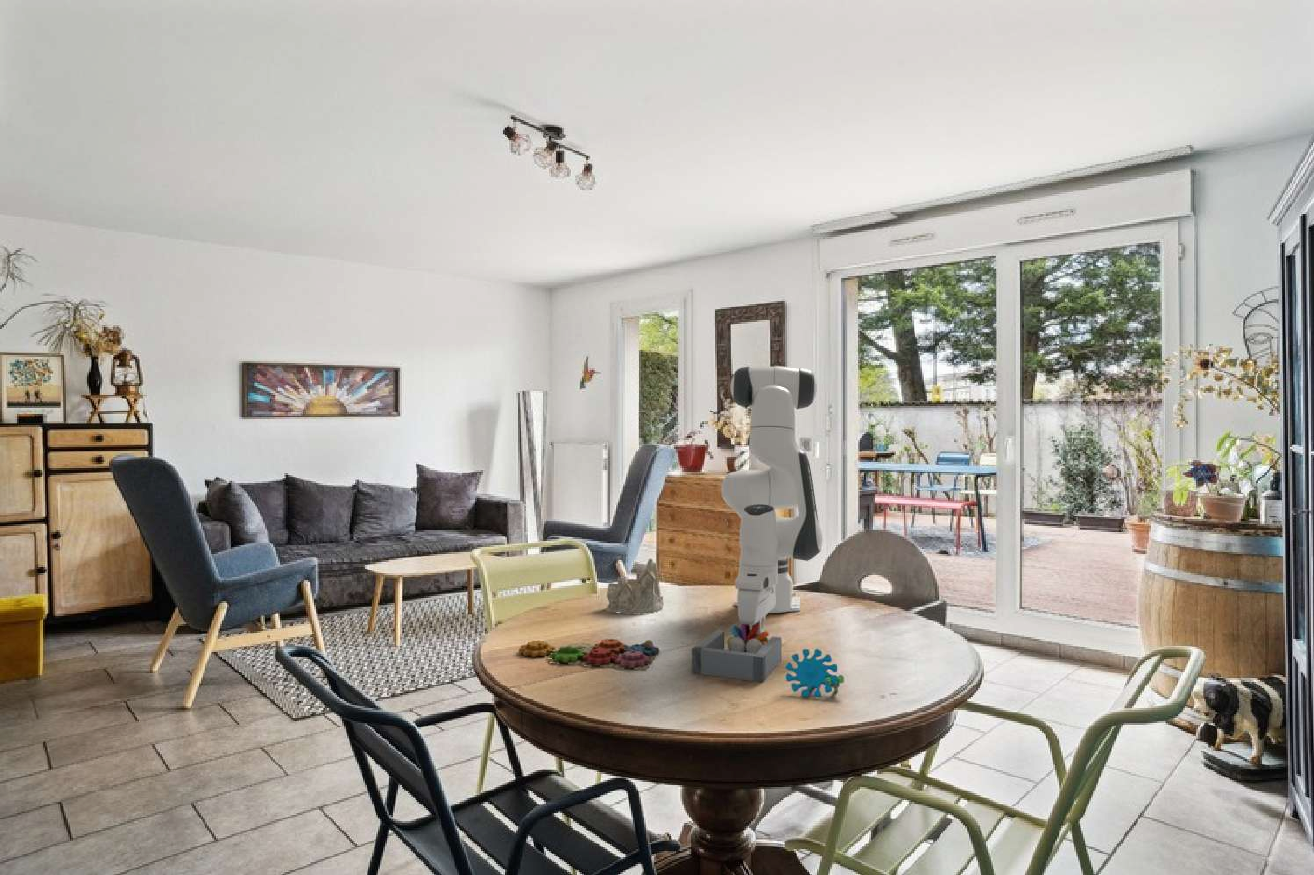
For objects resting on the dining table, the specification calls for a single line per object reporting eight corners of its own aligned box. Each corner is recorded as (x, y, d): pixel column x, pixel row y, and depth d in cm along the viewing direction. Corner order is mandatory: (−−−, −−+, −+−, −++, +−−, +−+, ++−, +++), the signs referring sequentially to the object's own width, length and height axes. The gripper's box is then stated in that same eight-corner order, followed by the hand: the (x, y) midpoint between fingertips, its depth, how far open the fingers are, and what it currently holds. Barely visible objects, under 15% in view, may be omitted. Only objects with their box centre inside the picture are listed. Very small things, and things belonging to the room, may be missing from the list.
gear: (777, 686, 146) (793, 640, 152) (781, 700, 150) (796, 655, 156) (835, 703, 141) (849, 655, 147) (837, 717, 145) (851, 671, 151)
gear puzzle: (507, 663, 167) (507, 644, 167) (535, 643, 182) (535, 626, 182) (646, 674, 160) (646, 654, 160) (663, 652, 175) (663, 634, 175)
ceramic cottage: (668, 602, 224) (665, 551, 224) (657, 617, 208) (653, 562, 208) (617, 602, 228) (613, 552, 227) (601, 618, 211) (598, 564, 211)
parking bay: (715, 652, 174) (715, 630, 174) (781, 660, 168) (781, 637, 168) (691, 672, 159) (691, 648, 159) (762, 682, 153) (762, 657, 153)
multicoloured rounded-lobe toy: (765, 660, 168) (765, 627, 168) (722, 655, 171) (722, 623, 171) (773, 650, 176) (773, 618, 176) (732, 645, 179) (732, 614, 179)
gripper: (756, 567, 189) (756, 623, 189) (732, 582, 170) (732, 644, 170) (782, 569, 187) (782, 626, 187) (760, 584, 168) (760, 648, 168)
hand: (758, 635), depth 178 cm, fingers closed
